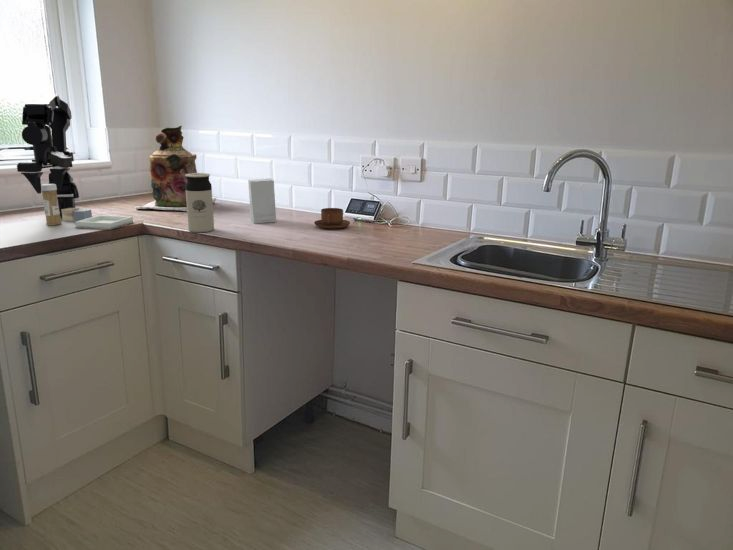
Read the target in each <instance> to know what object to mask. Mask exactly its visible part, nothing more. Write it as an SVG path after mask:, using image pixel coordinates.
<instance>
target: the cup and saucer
mask: <svg viewBox="0 0 733 550" xmlns="http://www.w3.org/2000/svg"><path fill="white" fill-rule="evenodd" d="M320 213H321V215H320V217H321V219H319V220H318V219H317V220H315V221H314V222H313V223H314V225H315V226H316V227H318V228H320V229H325V230H339V229H343V228H347V227H348V226H349V225H350V223H351V221H349V220H348V219H347V220H346V219H344V209H343V208H339V207H326V208H322V209H320Z"/></svg>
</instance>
